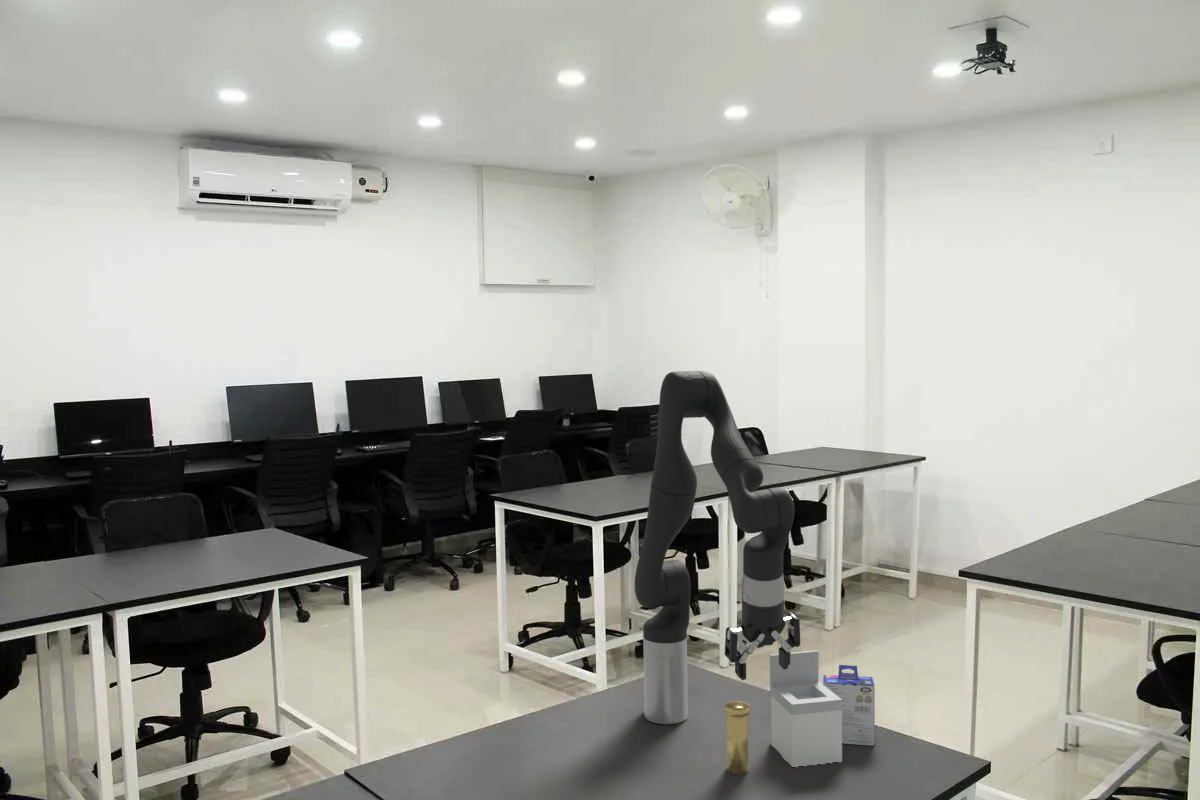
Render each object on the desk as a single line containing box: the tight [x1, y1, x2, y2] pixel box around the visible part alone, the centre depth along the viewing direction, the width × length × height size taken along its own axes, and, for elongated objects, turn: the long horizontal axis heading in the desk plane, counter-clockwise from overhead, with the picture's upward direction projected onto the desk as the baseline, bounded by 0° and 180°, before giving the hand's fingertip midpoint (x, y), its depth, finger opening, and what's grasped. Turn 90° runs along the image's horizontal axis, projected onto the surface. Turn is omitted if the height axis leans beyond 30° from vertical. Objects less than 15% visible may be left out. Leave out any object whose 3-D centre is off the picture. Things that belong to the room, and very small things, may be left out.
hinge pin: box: [723, 700, 752, 775], centre depth 172 cm, size 5×5×12 cm
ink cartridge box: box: [822, 664, 876, 747], centre depth 184 cm, size 10×6×14 cm, turn 78°
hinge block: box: [769, 649, 843, 768], centre depth 178 cm, size 11×10×18 cm
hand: (762, 672), depth 171 cm, fingers open, 8 cm apart
